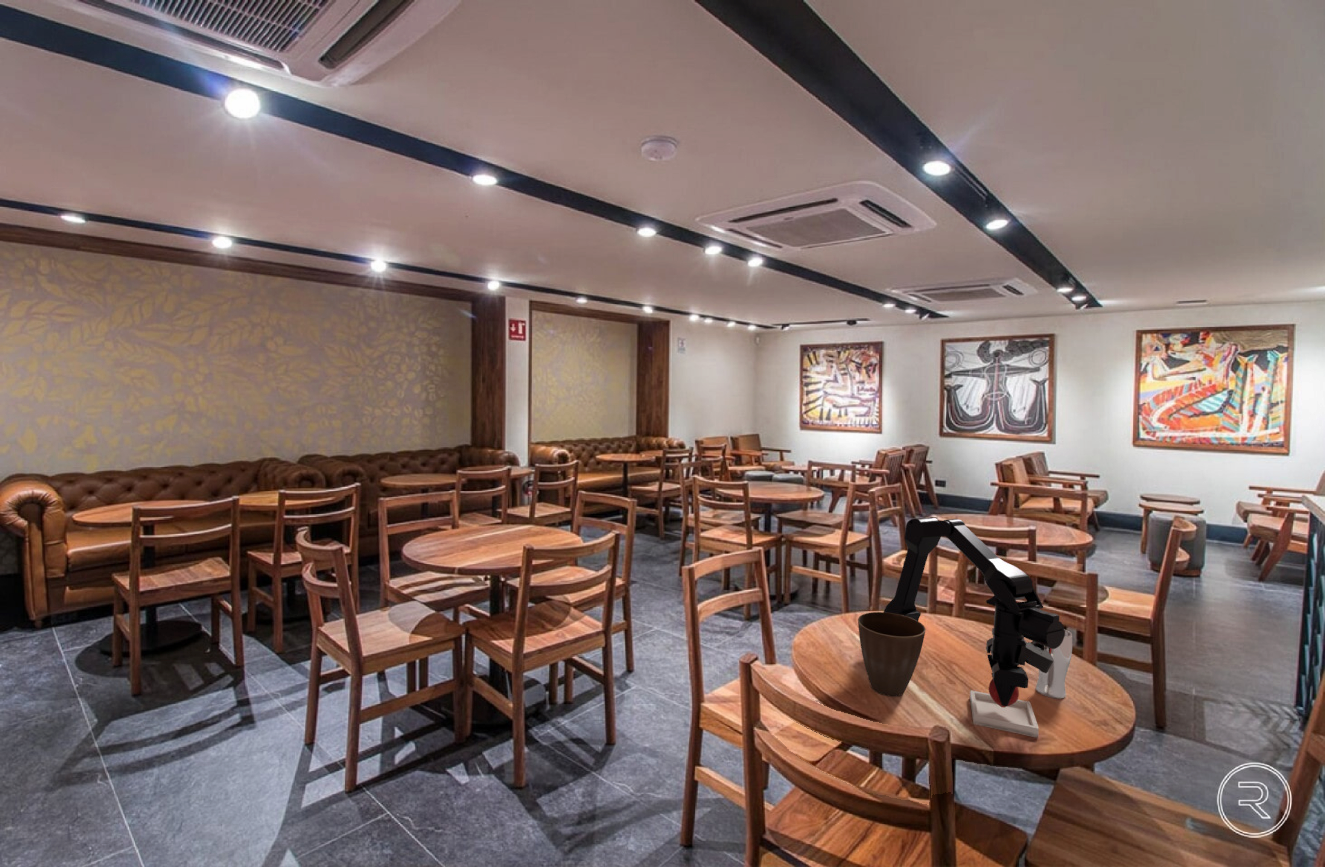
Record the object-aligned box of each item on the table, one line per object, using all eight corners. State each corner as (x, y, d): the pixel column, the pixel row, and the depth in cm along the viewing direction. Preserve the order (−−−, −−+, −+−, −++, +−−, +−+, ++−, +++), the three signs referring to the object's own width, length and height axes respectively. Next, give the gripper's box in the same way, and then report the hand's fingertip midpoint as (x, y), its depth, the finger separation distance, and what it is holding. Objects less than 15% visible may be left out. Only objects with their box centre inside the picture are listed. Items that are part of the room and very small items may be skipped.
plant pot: (922, 710, 139) (927, 640, 137) (852, 697, 144) (856, 629, 142) (920, 681, 152) (924, 617, 151) (856, 670, 158) (859, 608, 156)
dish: (973, 723, 134) (973, 714, 134) (969, 698, 145) (970, 690, 145) (1038, 737, 129) (1038, 728, 129) (1029, 710, 140) (1029, 701, 140)
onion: (1016, 716, 133) (1019, 680, 132) (986, 708, 136) (989, 673, 135) (1018, 705, 138) (1021, 670, 137) (988, 697, 141) (991, 663, 140)
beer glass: (1073, 701, 145) (1078, 638, 143) (1040, 697, 146) (1045, 635, 145) (1060, 687, 152) (1065, 627, 150) (1029, 683, 153) (1033, 624, 152)
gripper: (1060, 654, 124) (1053, 729, 125) (1044, 621, 141) (1038, 688, 142) (996, 643, 128) (991, 716, 129) (988, 613, 145) (983, 677, 146)
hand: (1002, 699), depth 137 cm, fingers closed on onion, 6 cm apart
